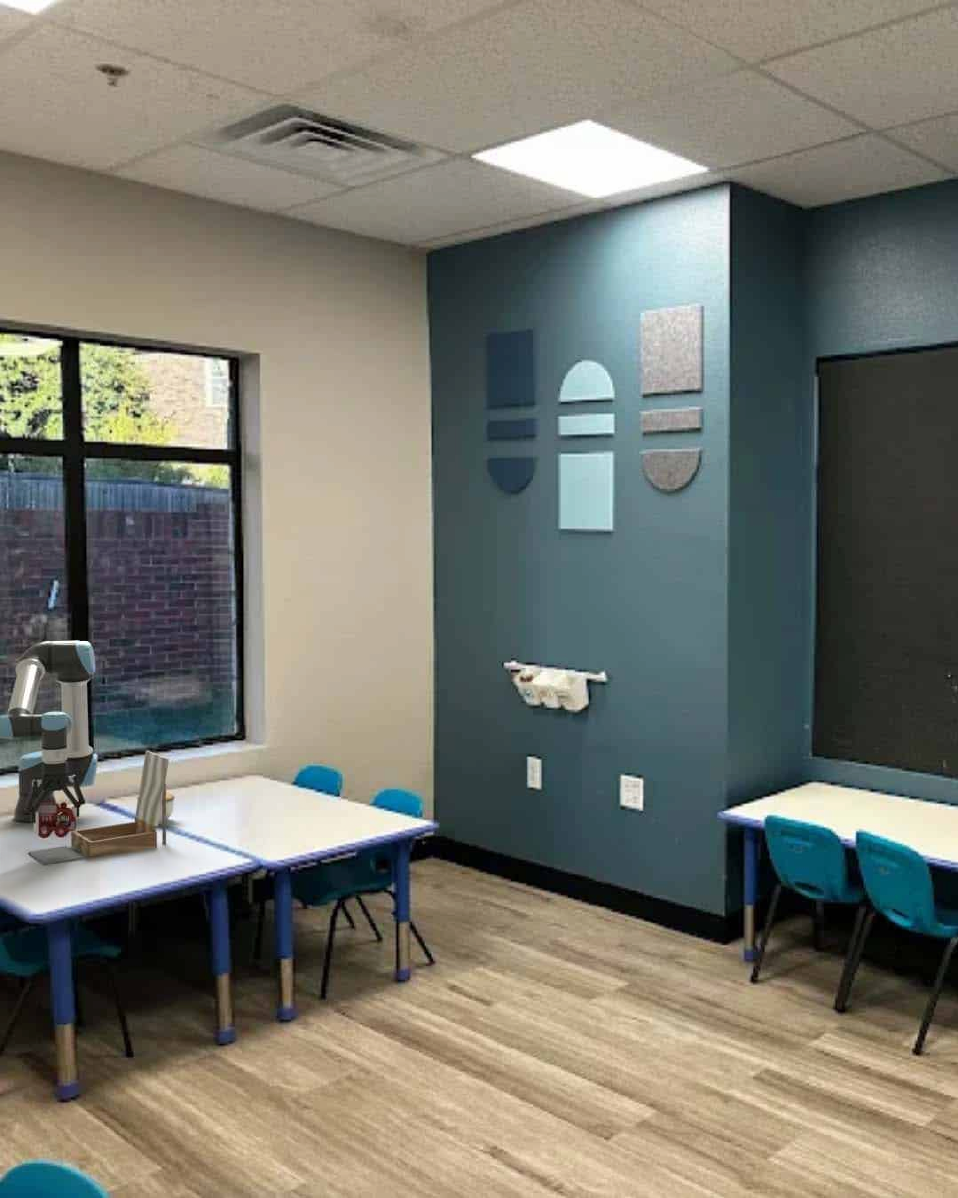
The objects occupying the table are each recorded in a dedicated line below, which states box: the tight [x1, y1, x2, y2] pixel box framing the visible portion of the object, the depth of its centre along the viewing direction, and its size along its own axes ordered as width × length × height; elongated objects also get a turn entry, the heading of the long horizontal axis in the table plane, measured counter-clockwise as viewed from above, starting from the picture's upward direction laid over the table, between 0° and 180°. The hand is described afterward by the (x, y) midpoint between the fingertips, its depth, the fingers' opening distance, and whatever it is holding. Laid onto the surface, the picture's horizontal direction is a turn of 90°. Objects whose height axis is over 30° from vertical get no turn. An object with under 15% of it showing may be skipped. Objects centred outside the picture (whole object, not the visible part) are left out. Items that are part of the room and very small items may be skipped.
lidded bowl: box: [136, 792, 175, 825], centre depth 410 cm, size 13×13×11 cm
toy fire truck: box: [36, 801, 77, 839], centre depth 365 cm, size 7×12×10 cm, turn 99°
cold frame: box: [70, 750, 170, 859], centre depth 378 cm, size 17×26×29 cm, turn 129°
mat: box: [27, 845, 84, 866], centre depth 365 cm, size 16×12×1 cm
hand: (55, 830), depth 365 cm, fingers closed on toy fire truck, 11 cm apart
